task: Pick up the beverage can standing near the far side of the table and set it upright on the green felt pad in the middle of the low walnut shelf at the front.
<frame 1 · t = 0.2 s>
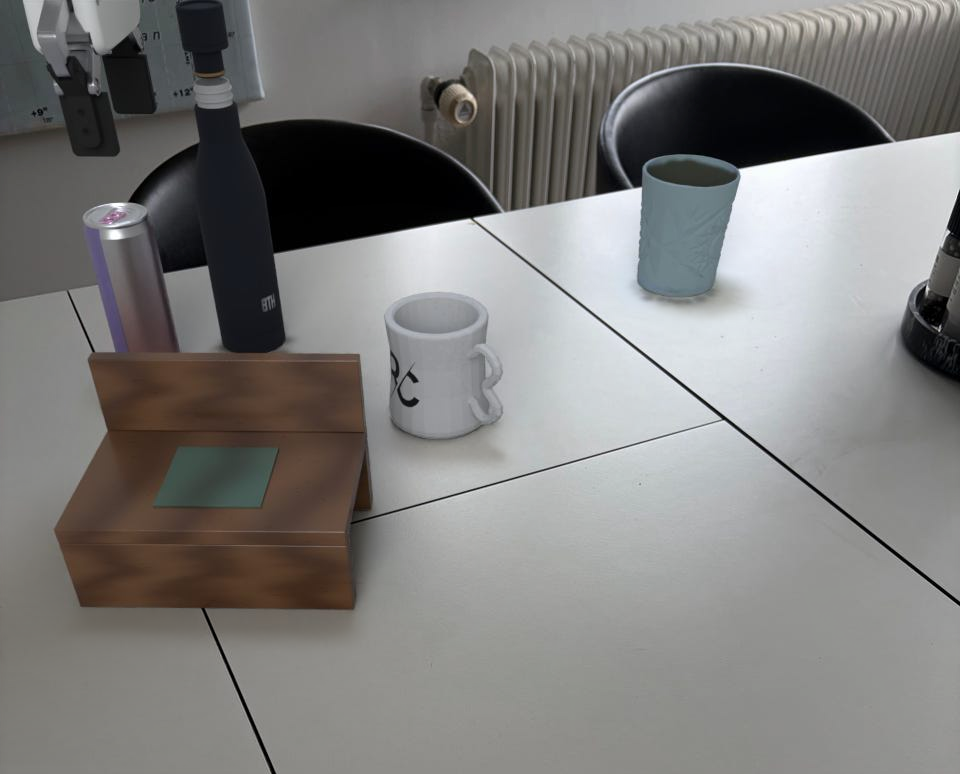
hand: (117, 133, 76), 25 cm above the table, tool pointing down, fingers open, 9 cm apart
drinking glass: (677, 282, 117), on the table
beverage can: (152, 370, 102), on the table
mug: (452, 425, 94), on the table
shelf: (235, 549, 81), on the table
dark bottle: (254, 342, 107), on the table
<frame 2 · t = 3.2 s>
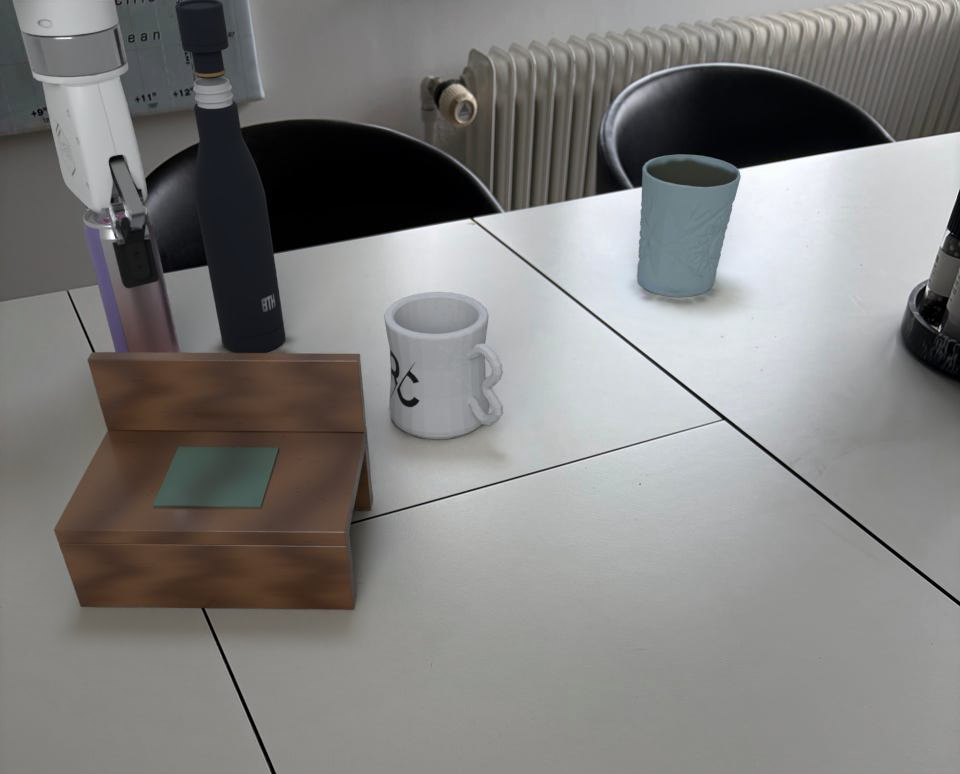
hand: (128, 269, 96), 10 cm above the table, tool pointing down, fingers closed on beverage can, 6 cm apart
beverage can: (152, 369, 102), on the table, touching gripper
everything else where it was.
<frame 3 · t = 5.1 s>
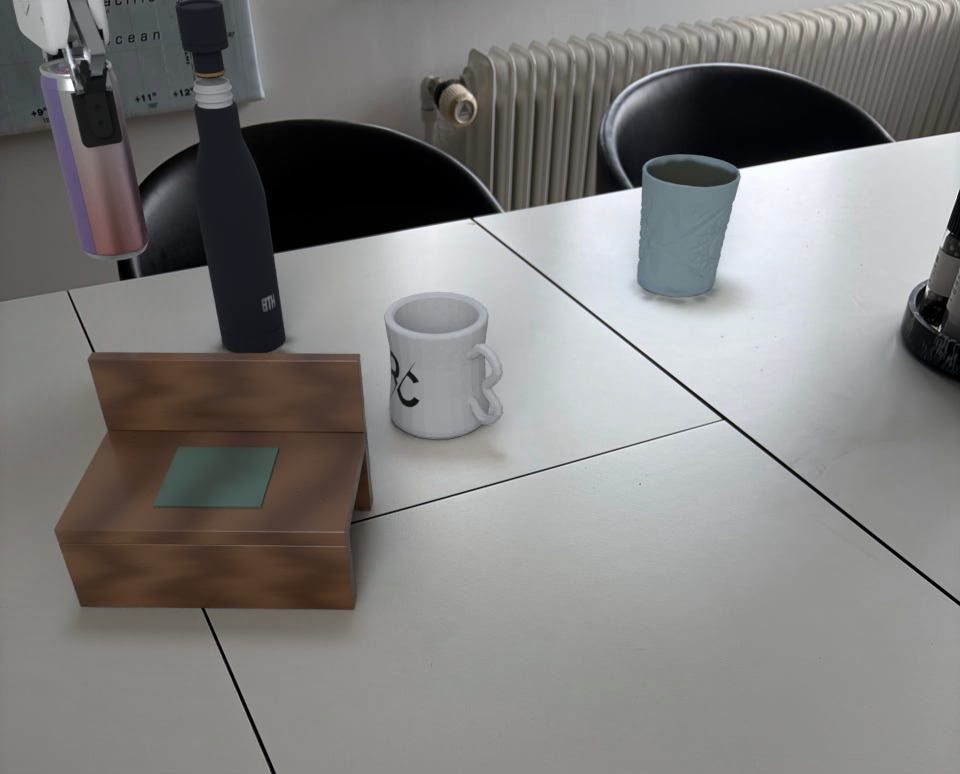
hand: (89, 131, 87), 22 cm above the table, tool pointing down, fingers closed on beverage can, 6 cm apart
beverage can: (117, 251, 94), point 12 cm above the table, touching gripper
everything else where it was.
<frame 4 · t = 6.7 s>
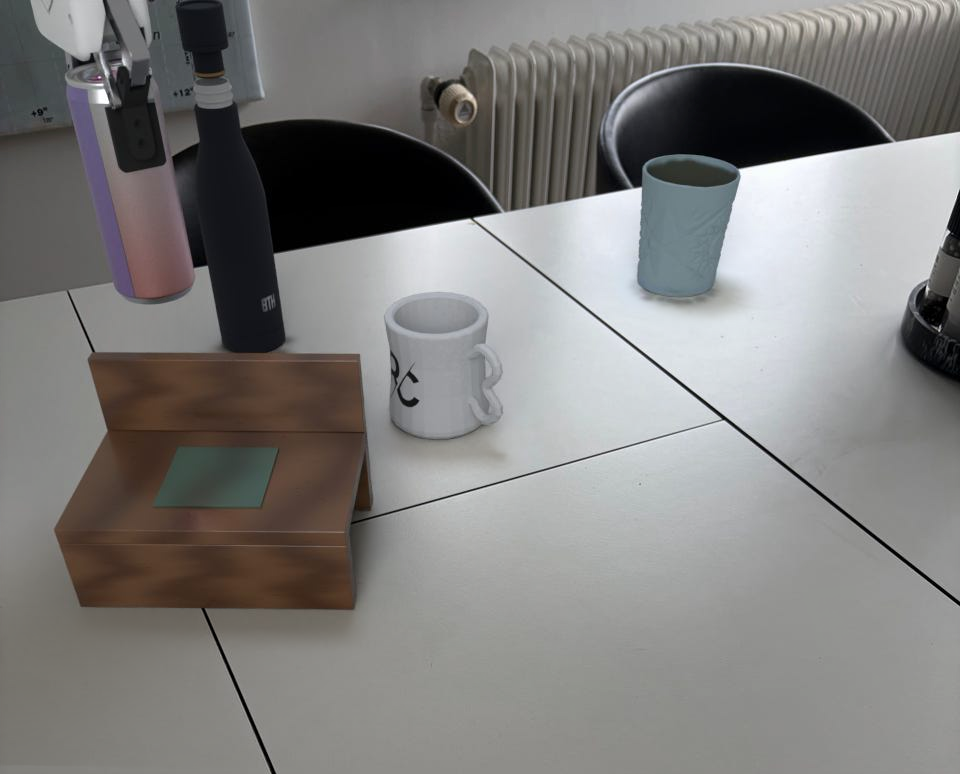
hand: (125, 151, 72), 26 cm above the table, tool pointing down, fingers closed on beverage can, 6 cm apart
beverage can: (157, 292, 79), point 15 cm above the table, touching gripper
everything else where it was.
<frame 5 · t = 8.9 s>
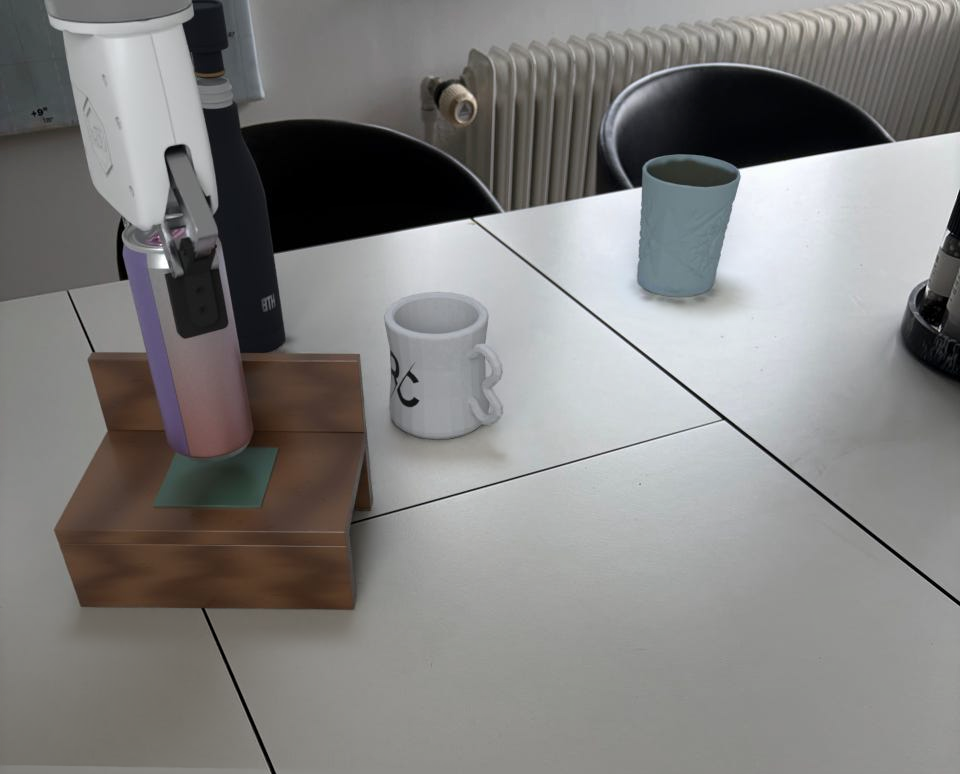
hand: (183, 309, 67), 20 cm above the table, tool pointing down, fingers closed on beverage can, 6 cm apart
beverage can: (212, 445, 74), point 10 cm above the table, touching gripper
everything else where it was.
when the fingers open (17 cm above the table, at t = 10.1 s): beverage can stays where it is, resting on shelf.
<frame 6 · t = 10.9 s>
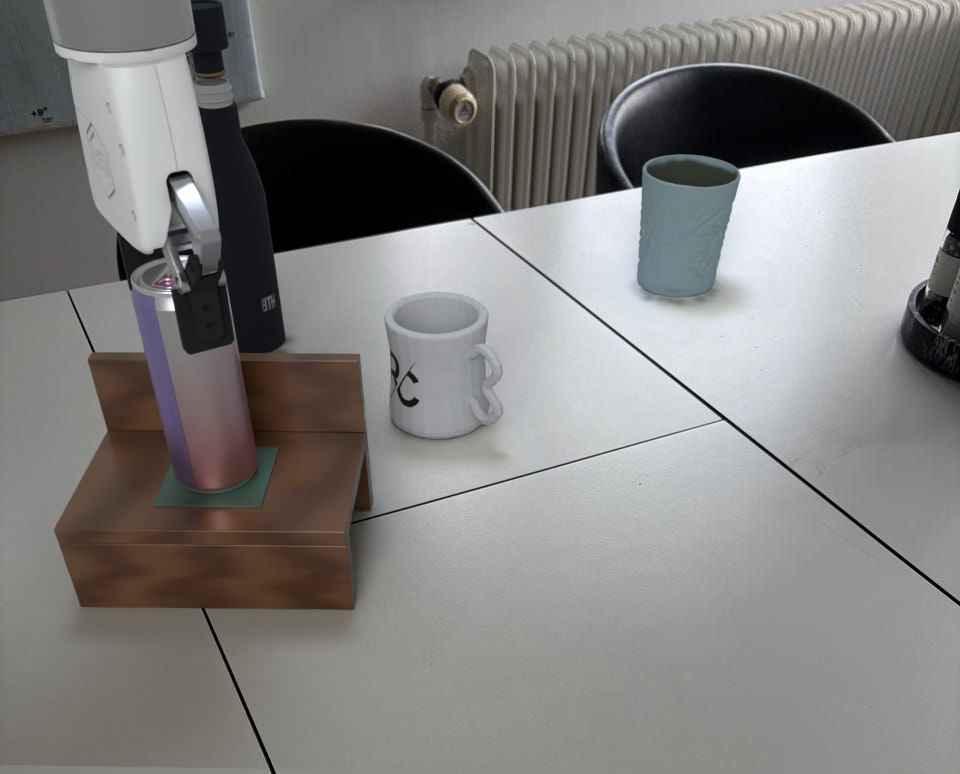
hand: (180, 317, 67), 19 cm above the table, tool pointing down, fingers open, 9 cm apart
beverage can: (218, 476, 76), point 7 cm above the table, touching shelf
everything else where it was.
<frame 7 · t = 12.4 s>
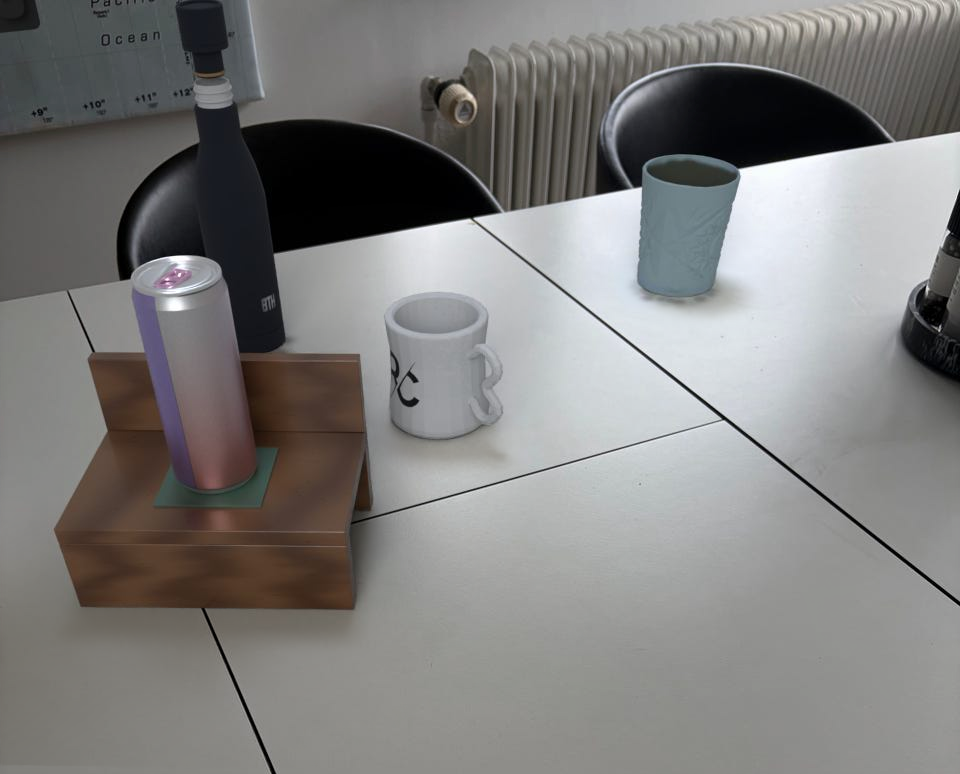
nothing on the table moved.
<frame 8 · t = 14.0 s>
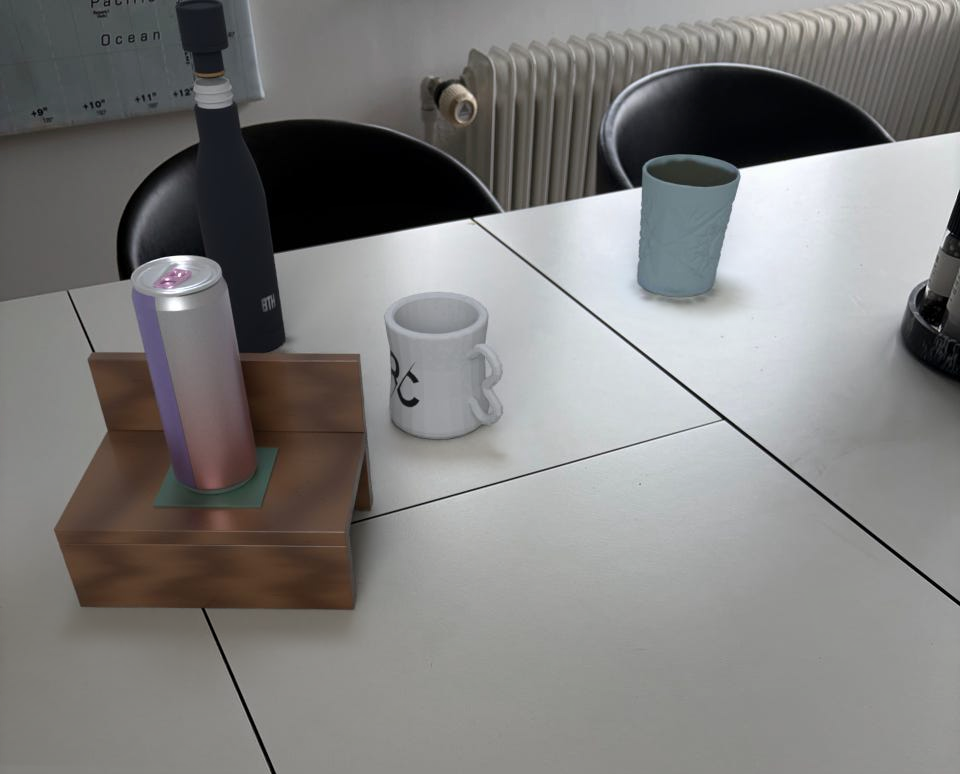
nothing on the table moved.
at the end: beverage can inside the target area on the shelf (0.1 cm from its centre), point 7.0 cm above the shelf's base; beverage can tilted 0°; the gripper is holding nothing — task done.
